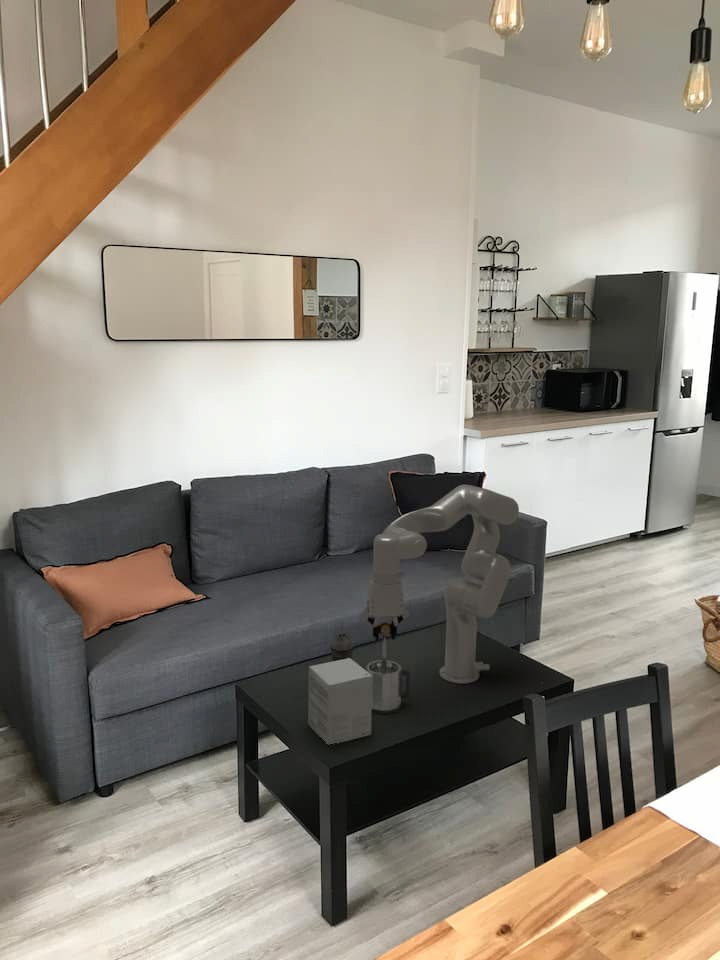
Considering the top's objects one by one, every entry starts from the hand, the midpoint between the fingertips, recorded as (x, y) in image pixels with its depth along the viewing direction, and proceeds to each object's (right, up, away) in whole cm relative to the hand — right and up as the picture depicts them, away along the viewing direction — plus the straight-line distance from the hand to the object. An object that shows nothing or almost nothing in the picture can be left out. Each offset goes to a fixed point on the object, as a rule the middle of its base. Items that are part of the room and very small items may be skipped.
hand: (384, 637), depth 224 cm
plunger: (0, -11, +2) cm, 12 cm away
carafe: (+1, -21, +4) cm, 21 cm away
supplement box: (-13, -24, -10) cm, 29 cm away
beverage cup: (-13, -18, +19) cm, 29 cm away
